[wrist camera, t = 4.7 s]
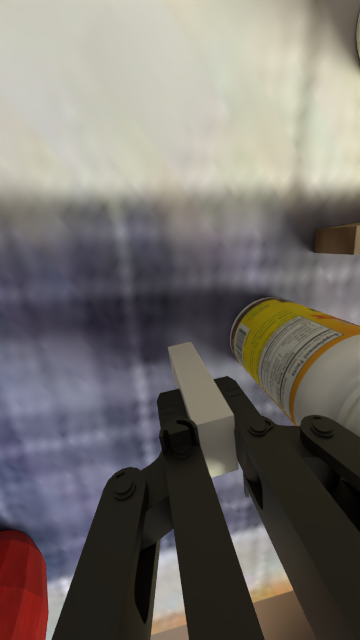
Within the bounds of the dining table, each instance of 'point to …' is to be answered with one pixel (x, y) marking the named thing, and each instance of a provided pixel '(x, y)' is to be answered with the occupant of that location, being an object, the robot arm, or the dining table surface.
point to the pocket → (338, 239)
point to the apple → (22, 588)
